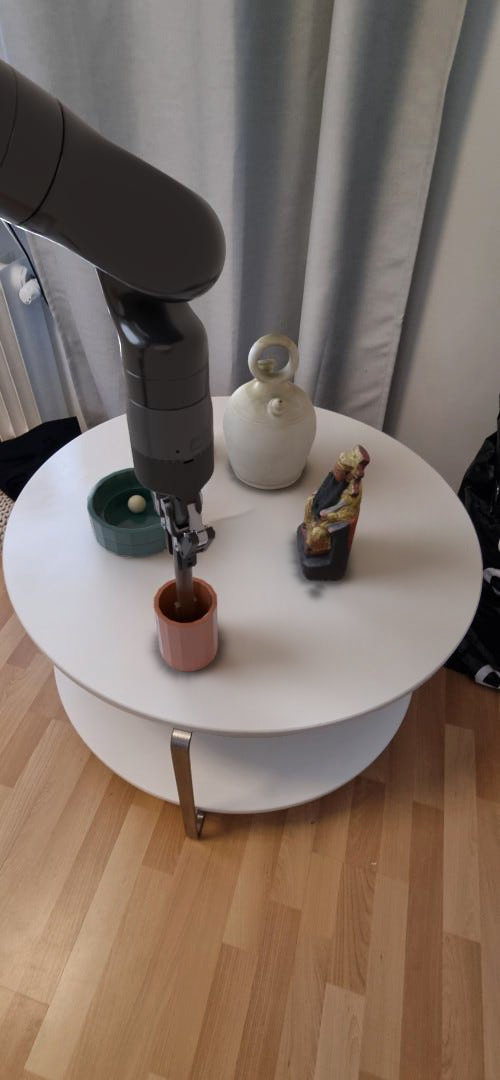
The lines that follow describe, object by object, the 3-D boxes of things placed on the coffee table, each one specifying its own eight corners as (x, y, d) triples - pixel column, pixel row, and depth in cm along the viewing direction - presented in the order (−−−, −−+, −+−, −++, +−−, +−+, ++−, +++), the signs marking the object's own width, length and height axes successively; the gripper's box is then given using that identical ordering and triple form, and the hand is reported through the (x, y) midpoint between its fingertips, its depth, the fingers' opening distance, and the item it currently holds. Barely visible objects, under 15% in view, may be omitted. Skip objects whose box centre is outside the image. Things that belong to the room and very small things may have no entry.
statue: (294, 531, 93) (308, 428, 78) (344, 534, 93) (367, 431, 78) (296, 591, 85) (311, 488, 70) (351, 594, 85) (377, 491, 70)
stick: (181, 635, 73) (172, 536, 60) (175, 623, 75) (165, 523, 62) (200, 627, 74) (195, 528, 61) (194, 616, 75) (188, 516, 62)
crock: (173, 680, 74) (168, 636, 67) (151, 635, 79) (144, 589, 72) (227, 657, 77) (227, 612, 70) (203, 615, 81) (201, 568, 74)
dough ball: (126, 501, 94) (122, 502, 92) (140, 491, 94) (137, 491, 92) (136, 516, 95) (133, 516, 92) (150, 506, 95) (147, 506, 92)
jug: (231, 436, 109) (232, 306, 91) (313, 446, 108) (331, 316, 90) (215, 490, 99) (212, 356, 81) (306, 502, 98) (324, 368, 80)
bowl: (110, 573, 86) (104, 545, 82) (82, 510, 95) (75, 482, 90) (201, 541, 91) (200, 513, 87) (166, 485, 100) (163, 457, 95)
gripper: (106, 401, 55) (128, 529, 68) (160, 489, 47) (174, 616, 60) (180, 382, 58) (188, 509, 70) (244, 464, 49) (240, 591, 62)
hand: (182, 558), depth 65 cm, fingers closed on stick, 2 cm apart
